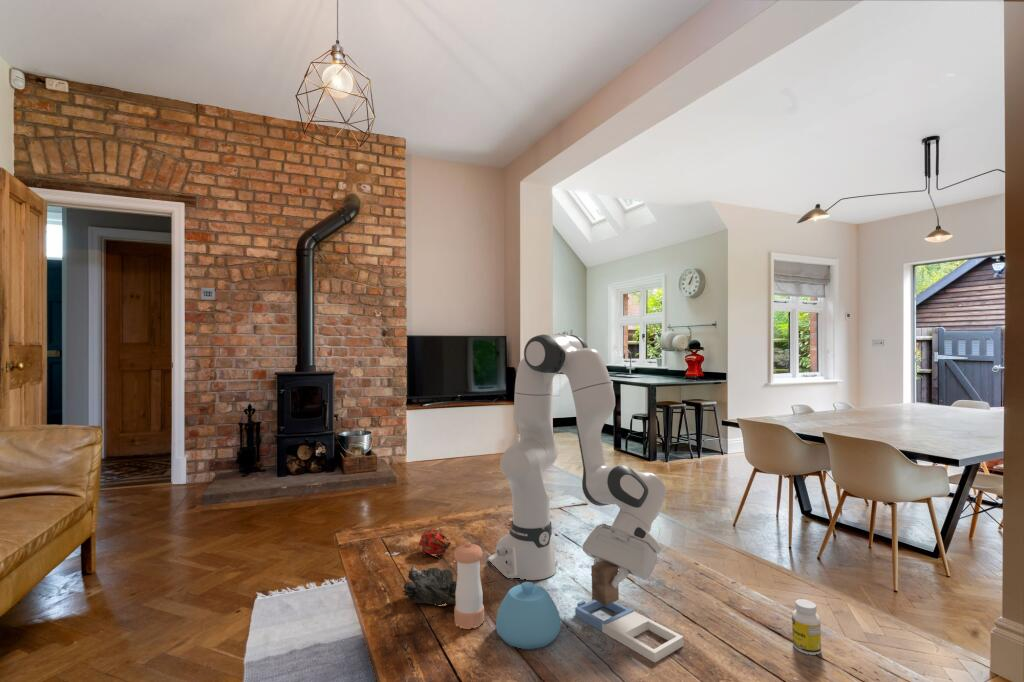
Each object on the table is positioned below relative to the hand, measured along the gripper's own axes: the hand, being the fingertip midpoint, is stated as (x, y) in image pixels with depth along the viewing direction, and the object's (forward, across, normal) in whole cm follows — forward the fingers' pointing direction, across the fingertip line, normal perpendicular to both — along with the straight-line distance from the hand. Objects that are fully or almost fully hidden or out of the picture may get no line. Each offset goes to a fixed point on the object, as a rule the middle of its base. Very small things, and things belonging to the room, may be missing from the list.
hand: (603, 581), depth 126 cm
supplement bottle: (-11, +36, +25) cm, 45 cm away
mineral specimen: (+27, -34, -14) cm, 45 cm away
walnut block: (+3, 0, +4) cm, 4 cm away
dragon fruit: (+16, -61, -4) cm, 63 cm away
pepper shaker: (+25, -19, -13) cm, 34 cm away
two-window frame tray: (+6, +7, +7) cm, 11 cm away
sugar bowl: (+20, -6, -7) cm, 22 cm away
